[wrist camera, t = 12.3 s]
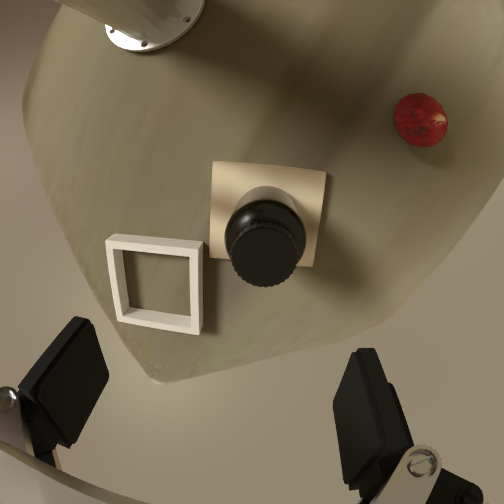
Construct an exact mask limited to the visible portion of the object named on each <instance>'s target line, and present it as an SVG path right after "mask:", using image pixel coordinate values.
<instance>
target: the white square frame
mask: <svg viewBox="0 0 504 504" xmlns="http://www.w3.org/2000/svg"><path fill="white" fill-rule="evenodd" d="M105 243H106V252H107V260H108V268H109V275H110V281H111V288H112V294H113V299H114V305H115V310H116V316H117V321H120V322H125V323H130V324H135V325H141V326H146V327H152V328H157V329H163V330H169V331H175V332H182V333H188V334H195V335H200V332H201V329H202V326H203V241H192V240H181V239H170V238H159V237H148V236H137V235H126V234H113V235H112V236H110V237H109V238H108V239H106V240H105ZM122 250H130V251H140V252H149V253H158V254H168V255H177V256H187V257H190V302H191V316H184V315H177V314H170V313H163V312H157V311H151V310H145V309H139V308H133V307H130V306H129V299H128V293H127V285H126V278H125V269H124V260H123V251H122Z"/></svg>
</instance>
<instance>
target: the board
mask: <svg viewBox="0 0 504 504" xmlns="http://www.w3.org/2000/svg"><path fill="white" fill-rule="evenodd" d="M325 180H326V172H325V171H319V170H312V169H303V168H295V167H286V166H276V165H265V164H253V163H240V162H225V161H213V171H212V192H211V218H210V254H209V257H211V258H221V259H230V258H229V256H228V254H227V251H226V248H225V243H224V234H225V229H226V226H227V223H228V221H229V219H230V217H231V215H232V213H233V211H234V209H235V207H236V206H237V204H238V202H239V200H240V199H241V198H242V196H243V195H244V194H246V193H247V192H248V191H250V190H251V189H254V188H256V187H260V186H273V187H276V188H279V189H281V190H283V191H285V192H286V193H287V194H288V195H289V196H290V197H291V198H292V199H293V201H294V202H295V204H296V206H297V209H298V211H299V214H300V216H301V219H302V221H303V224H304V227H305V230H306V247H305V251H304V254H303V256H302V258H301V259H300V261H299V262H298V264H297V265H296V266H304V267H313V261H314V255H315V249H316V243H317V237H318V231H319V224H320V217H321V210H322V203H323V196H324V188H325Z"/></svg>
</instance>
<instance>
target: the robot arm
mask: <svg viewBox="0 0 504 504" xmlns="http://www.w3.org/2000/svg"><path fill="white" fill-rule="evenodd" d="M55 1H57V2H60V3H62V4H64V5H66V6H68V7H71V8H73V9H75V10H77V11H79V12H81V13H83V14H85V15H87V16H89V17H91V18H93V19H95V20H97V21H99V22H101V23H103V24H105V26H106V32H107V34H108V37H109V38H110V40H111V41H112V42H113V43H114V44H115V45H117V46H118V47H120V48H122V49H124V50H128V51H131V52H149V51H153V50H157V49H160V48H163V47H165V46H168V45H169V44H171V43H173V42H175V41H176V40H178V39H179V38H181V37H182V36H183V35H185V34H186V33H187V32H188V31H189V30H190V29H191V28H192V27H193V26H194V24H195V23H196V22H197V20H198V19H199V17H200V15H201V13H202V11H203V8H204V4H205V0H55ZM189 20H190V21H189ZM187 21H189V22H187ZM147 44H148V45H147ZM146 45H147V46H146ZM108 379H109V372H108V369H107V366H106V363H105V360H104V357H103V354H102V351H101V348H100V345H99V342H98V339H97V335H96V332H95V328H94V325H93V324H91V322H90V320H89V319H86V318H81V317H78V316H75V317H73V318H72V319H71V321H70V322H69V323H68V324H67V325H66V327H65V328H64V329H63V330H62V331H61V332H60V333H59V335H58V336H57V337H56V338H55V340H54V341H53V342H52V343H51V345H50V346H49V347H48V348H47V349H46V351H45V352H44V353H43V354H42V355H41V357H40V358H39V359H38V361H37V362H36V363H35V364H34V366H33V367H32V368H31V370H30V371H29V372H28V374H27V375H26V376H25V378H24V379H23V380H22V381H21V383H20V384H19V386H18V388H19V389H20V390H19V391H18V392H17V391H16V390H15V389H14V388H12V387H7V386H6V387H1V388H0V504H149V503H145V502H141V501H138V500H135V499H132V498H128V497H125V496H122V495H119V494H116V493H113V492H110V491H108V490H105V489H102V488H100V487H97V486H95V485H92V484H89V483H87V482H85V481H82V480H80V479H78V478H75V477H73V476H71V475H69V474H67V473H65V472H63V471H62V469H61V465H60V462H59V459H58V455H57V451H56V448H55V447H56V445H57V444H60V445H62V446H64V447H66V448H69V449H70V447H71V445H72V444H74V443H76V441H77V439H78V437H79V435H80V433H81V431H82V429H83V427H84V425H85V423H86V422H87V419H88V417H89V416H90V414H91V412H92V410H93V408H94V406H95V404H96V402H97V400H98V398H99V396H100V394H101V393H102V391H103V389H104V387H105V385H106V384H107V382H108ZM333 412H334V418H335V424H336V430H337V437H338V443H339V451H340V458H341V465H342V473H343V480H344V483H345V484H349V490H357V489H359V494H360V497H361V499H360V500H359V501H358V503H357V504H483V493H482V490H481V489H480V488H479V487H478V486H477V485H475V484H474V483H471V482H469V481H467V480H465V479H463V478H461V477H459V476H457V475H455V474H453V473H451V472H449V471H447V470H445V469H443V468H441V466H442V463H441V458H440V456H439V454H438V453H437V451H436V450H435V449H433V448H431V447H429V446H426V445H416V446H414V443H413V440H412V437H411V434H410V431H409V428H408V425H407V422H406V419H405V416H404V413H403V410H402V407H401V404H400V402H399V399H398V397H397V394H396V391H395V388H394V386H393V385H392V384H391V383H388V381H387V379H386V376H385V374H384V371H383V368H382V365H381V363H380V360H379V358H378V355H377V353H376V350H375V349H374V348H359V349H357V351H356V352H352V354H351V356H350V359H349V362H348V364H347V367H346V370H345V372H344V375H343V377H342V380H341V383H340V385H339V388H338V390H337V392H336V395H335V397H334V400H333ZM487 504H488V503H487Z"/></svg>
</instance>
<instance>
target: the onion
mask: <svg viewBox="0 0 504 504" xmlns="http://www.w3.org/2000/svg"><path fill="white" fill-rule="evenodd" d="M394 122H395V127H396V129H397V131H398V133H399V135H400V136H401V137H402V138H403V139H404V140H405V141H407V142H408V143H409V144H411V145H414V146H418V147H424V148H425V147H430V146H434V145H436V144H437V143H439V142H440V141H441V140H442V139H443V137H444V136H445V134H446V132H447V125H448V122H447V117H446V114H445V112H444V110H443V108H442V106H441V105H440V104H439V103H438V102H437V101H436V100H435V99H434V98H432V97H430V96H428V95H425V94H423V93H415V94H409V95H407V96H405V97H404V98H402V99H401V100H400V101H399V102H398V104H397V105H396V108H395V112H394Z"/></svg>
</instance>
